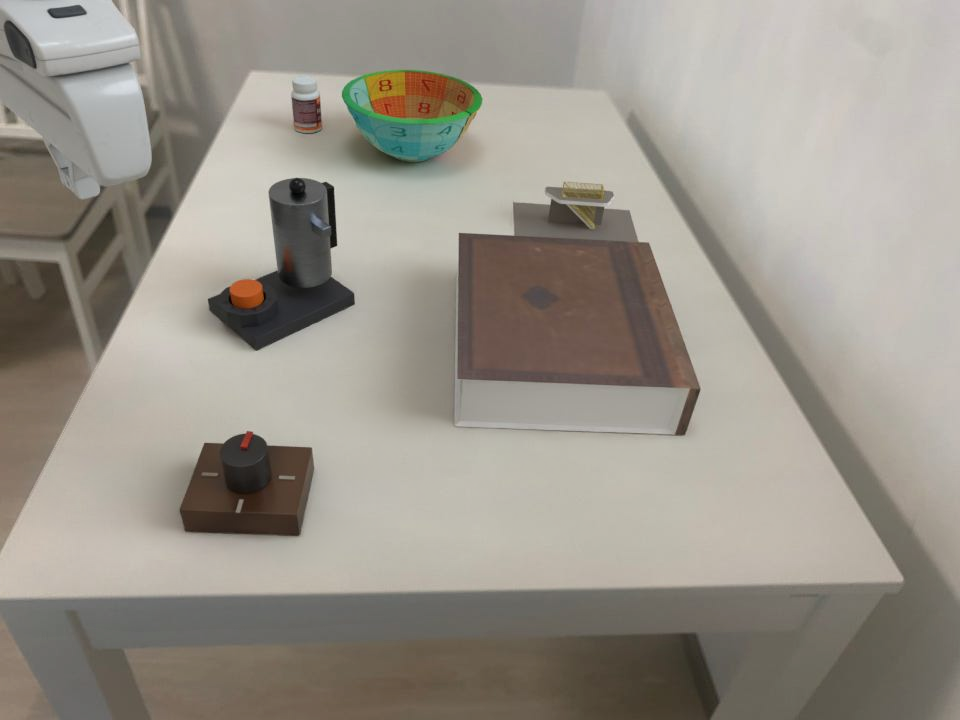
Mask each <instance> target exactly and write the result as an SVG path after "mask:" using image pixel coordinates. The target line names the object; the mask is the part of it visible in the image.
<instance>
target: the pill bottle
mask: <svg viewBox="0 0 960 720" xmlns="http://www.w3.org/2000/svg"><path fill="white" fill-rule="evenodd" d="M291 82H292V91H291V92H290V98H291V107H292V118H293V119H292V120H293V128H294V130H295V131H296V132H299V133H302V134H312V133H317V132H319V131H321V130H322V128H323V119H322V107H321V106H322V105H321V93H320V91H319V90H318V80H317V78H316V77H313V76H308V75H300V76H295V77H294V78H292V80H291Z"/></svg>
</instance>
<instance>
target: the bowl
mask: <svg viewBox="0 0 960 720" xmlns="http://www.w3.org/2000/svg"><path fill="white" fill-rule="evenodd" d="M341 98H342V101H343V103H344V104H345V105H346V107H347V110H348V112H349V114H350V115H351V117H352V119H353V121H354V123H355V125H356V128H357V129H358V130H359V132H360V133H361V135H362V136H363V137H364V138H365V139H366V140H367V141H368V142H369V143H370V144H371V146H373V147H374V148H376V149H377V150H379V152H382V153H384V154H386V155H388V156H390V157H393V158H394V159H396V160H399V161H402V162H408V163H420V162H421V163H422V162H426V161H428V160H430V159H431V158H435V157H437V156H440V155H442V154H444V153H445V152H447V151H449V150H450V149H452V148H453V147H454V146H455V145H457V143H458V142H459V141H460V140H461V139H462V138H463V137H464V135H465V134H466V133H467V132H468V129H469V128H470V125H471V124H472V121H474V119H475V117H476V116H477V113H478V111H479V110H480V109H481V107H482V105H483V97H482V94H481V92H480V91H479V90H478V89H477V88H476V87H474V85H471V84H470V83H468V82H466V81H464V80H463V79H460V78H457V77H454V76H451V75H449V74H444V73H439V72H435V71H429V70H428V71H427V70H419V69H391V70H381V71H376V72H371V73H365V74H363V75H361V76H358V77H356V78H354V79H351V80H350V81H349V82H347V83H346V84H345V85H344V87H343V88H342V90H341Z"/></svg>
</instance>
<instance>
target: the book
mask: <svg viewBox="0 0 960 720" xmlns="http://www.w3.org/2000/svg"><path fill="white" fill-rule="evenodd" d="M457 262H458V266H457V267H458V269H457V271H458V272H457V273H458V274H457V275H456V276H455V336H454V337H455V338H454V340H455V341H454V343H455V344H454V354H455V355H454V413H453V414H454V417H453V418H454V419H453V422H454V423H453V424H454V425H453V426H454V427H460V428H483V429H484V428H486V429H513V430H537V431H538V430H540V431H566V432H567V431H568V432H592V433H596V432H597V433H617V434H618V433H619V434H620V433H622V434H646V435H647V434H649V435H673V436H674V435H676V436H686V434H687V431H688V428H689V425H690V422H691V419H692V416H693V414H694V410H695V408H696V404H697V403H698V402H697V401H698V400H699V395H700V393H701V391H702V390H701V389H702V388H701V385H700V382H699V380H698V377H697V374H696V371H695V368H694V365H693V363H692V360H691V357H690V354H689V352H688V349H687V346H686V343H685V340H684V337H683V335H682V331H681V329H680V326H679V324H678V323H679V322H678V320H677V318H676V314H675V311H674V309H673V307H672V304H671V301H670V298H669V295H668V292H667V289H666V287H665V285H664V281H663V278H662V275H661V272H660V269H659V267H658V264H657V261H656V259H655V255H654V253H653V249H652V246H651V243H650V242H646V241H638V242H628V241H609V240H589V239H570V238H550V237H531V236H515V235H510V234H509V235H507V234H492V233H490V234H489V233H472V232H471V233H470V232H458V261H457Z"/></svg>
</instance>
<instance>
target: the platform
mask: <svg viewBox="0 0 960 720" xmlns="http://www.w3.org/2000/svg"><path fill="white" fill-rule="evenodd" d="M562 183H563V184H562V187H559V186H545V188H544V195H545V196H547V197H548V198H550V204H546V203H545V204H544V203H530V202H515V201H513V220H514V221H513V222H514V236H531V237H550V238H570V239H589V240H609V241H628V242H639V239H638V235H637V231H636V228H635V225H634V221H633V217H632V214H631V210H630V209H617V208H605V207H608V206H609V205H610V204H611V203H612V202H613V201H614V197H615V195H614V192H613V191H611V190H605V187H604V183H593V182H579V181H577V182H576V181H567V182H566V181H563V182H562Z"/></svg>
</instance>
